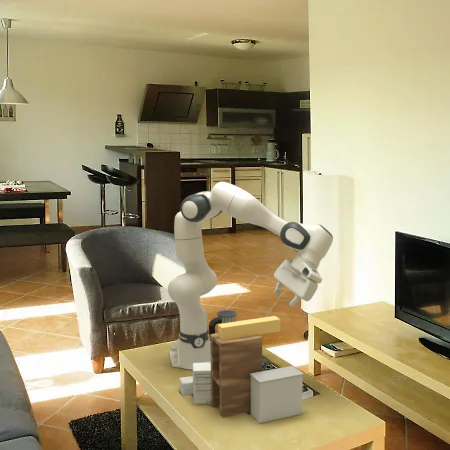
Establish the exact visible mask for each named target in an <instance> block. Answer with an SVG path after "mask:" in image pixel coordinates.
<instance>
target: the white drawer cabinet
mask: <svg viewBox="0 0 450 450" xmlns="http://www.w3.org/2000/svg"><path fill="white" fill-rule="evenodd" d="M192 376H193V404H194V405H203V404H204V405H207V404H210V405H211V362H205V363H193V370H192Z"/></svg>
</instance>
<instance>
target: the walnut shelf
mask: <svg viewBox="0 0 450 450" xmlns="http://www.w3.org/2000/svg"><path fill="white" fill-rule="evenodd" d="M209 340H210V345H211V403H210V405H211V406H212V407H213V408H215V407H219V415H220V418H226V417H230V416H236V415H240V414H245V413H246V414H247V413H248V412H249V413H251V376H250V373H256V372H261V371H263V337H262V336H261V335H254V336H247V337H241V338H235V339H228V340H221V339H220V338H219V337H218V333H217V332H215V334H210V338H209Z"/></svg>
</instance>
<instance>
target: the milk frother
mask: <svg viewBox="0 0 450 450" xmlns="http://www.w3.org/2000/svg"><path fill="white" fill-rule="evenodd" d="M216 314H217V317H214V318H212V319H211V320H210V321H209V322H208V323H209V324H208V332H209V338H208V339H210V334H216V333H218V324H223V323H230V322H236V321H237V315H238V312H237V311H234V310H229V309H222V310H219V311H217V312H216Z"/></svg>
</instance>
